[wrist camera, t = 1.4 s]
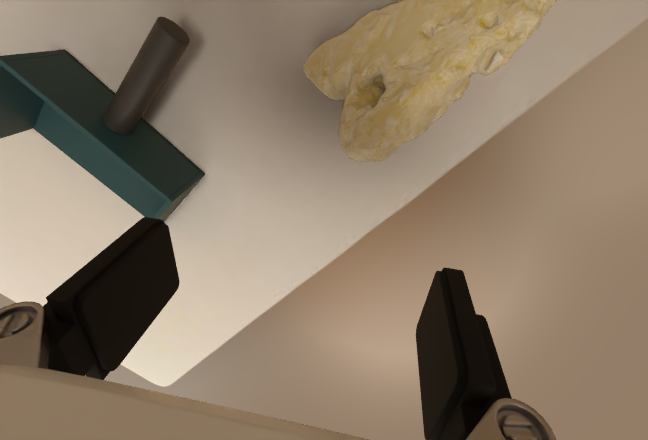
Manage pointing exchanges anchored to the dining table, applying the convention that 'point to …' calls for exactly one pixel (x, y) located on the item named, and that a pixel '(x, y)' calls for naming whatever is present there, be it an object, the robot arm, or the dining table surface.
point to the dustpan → (104, 119)
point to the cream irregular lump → (414, 65)
